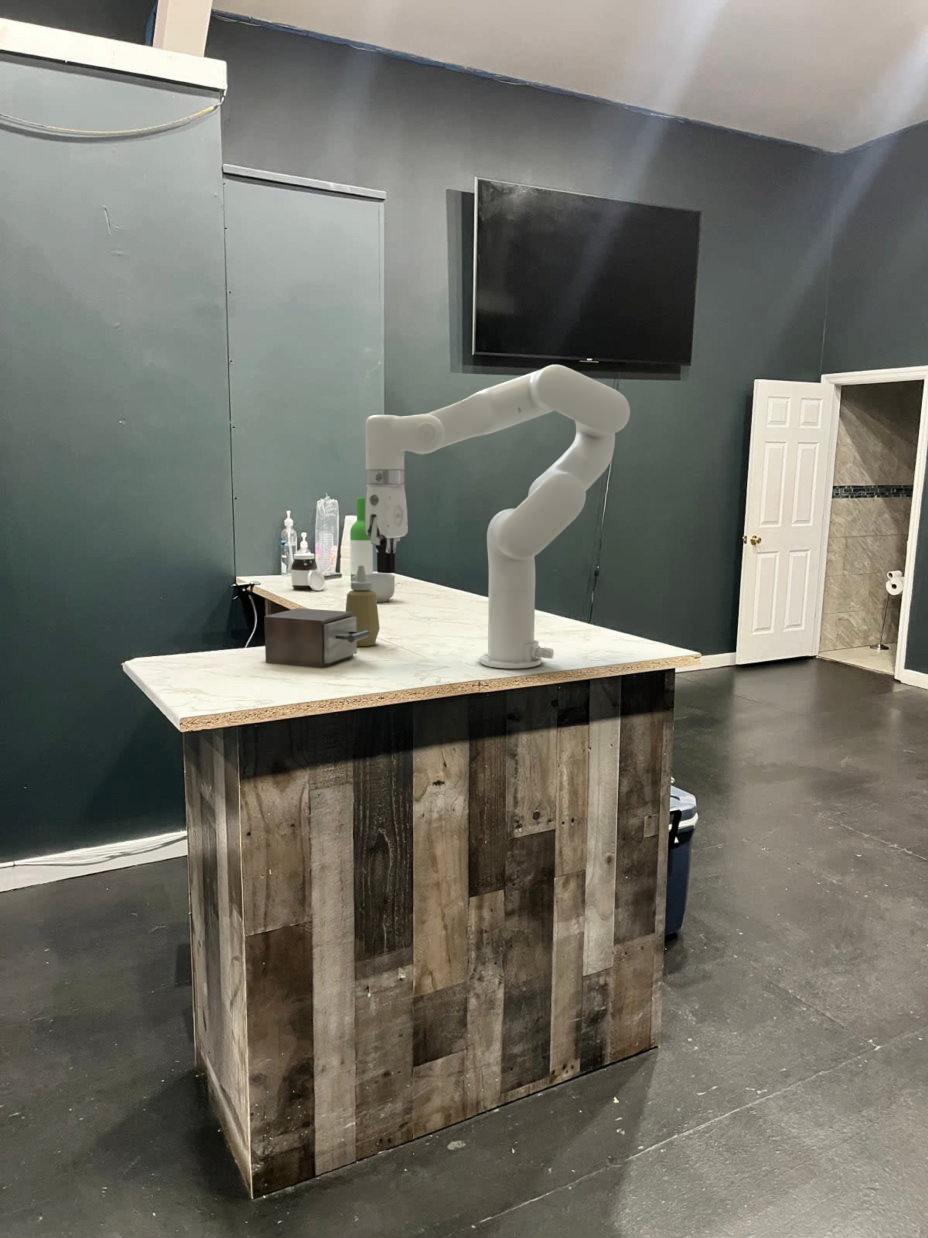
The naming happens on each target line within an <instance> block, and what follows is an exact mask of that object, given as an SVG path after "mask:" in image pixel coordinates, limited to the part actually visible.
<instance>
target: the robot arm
mask: <svg viewBox="0 0 928 1238" xmlns="http://www.w3.org/2000/svg"><path fill="white" fill-rule="evenodd" d="M553 412H556V413H558V414H561V415H562V416H565V417H567V418H569V419H570V420H573V421H574V423H575V437H574V439H573V442H572V443H571V445H570V446H569V448H568V449H567V450H565V451H564V453H563V454H562V455H561V456H560V457H559V458H558V459H557V460H556V461H554V463H552V465H551V466H549V467H548V468H547V469H546V470H545V471H544V472H543V473H542V474H540V475H539V476H538V477H537V478H536V479H535V480H534V481H533V482H532V483H531V485H530V487H529V489H528V492H527V493H528V494H527V497H526V498H525V499H524V500H523V501H522V502H521V503H519V505H517V507H516V508H506V509H503V510H501V511H499V512H498V513H496V514H495V515H494V516H493V517H492V518H491V520H490V522H489V523H488V528H487V532H486V547H487V560H488V561H487V562H488V563H487V564H488V594H487V595H488V598H487V600H488V602H487V603H488V604H487V605H488V607H487V608H488V612H487V614H488V615H487V653H485V654H483V655H481V656H480V658H479V660H480V661H479V662H480V664H482V665H484V666H485V667H486V666H487V667H491V668H497V669H509V670H510V669H529V668H534V667H535V668H536V667H538V666H540V665H541V664H542V658H543V659H551V660H552V659H553V658H554V655H555V654H554V653H555V652H554V651H555V650H554V649H553V648H551V647H541V646H540V645H539V640H535V617H536V615H535V614H536V613H535V611H536V610H535V609H536V559H535V557H536V556H537V555H538V554H540V553H541V552H542V551H543V550H545V548H547V547H548V546H549V545H550V544H551V543H552V542H553V541H554V540H555V539H556V538H557V537H558V536H559V535H560V534H561V533H563V532H564V530H565V529H566V528H567V527H568V526H570V525H571V524H572V522H573V521H575V519H577V518H578V516H579V515H580V514H581V512H582V510H583V508H584V506H585V504H586V498H587V493H586V492H587V491H588V490H589V489H590V488H591V486H592V485H593V484H594V483H595V482H596V481H597V480H598V479H599V478H600V477H601V476H602V475H603V474H604V472H605V471H606V470H607V468H608V467H609V465H610V463H611V461H612V460H613V456H614V451H615V445H616V434H617V433H619V432H620V431H622V430H623V429H624V428H625V427H626V426H627V423H628V422H629V420H630V417H631V407H630V404H629V401H628V399H627V398H626V397H625V395H624V394H622V393H621V392H620V391H619V390H617V389H615V388H612V387H610V386H608V385H606V384H604V383H602V382H600V381H597V380H596V379H594V378H591V377H589V376H587V375H585V374H583V373H581V372H579V371H576V370H574V369H573V368H569V367H567V366H565V365H561V364H550V365H547V366H544V367H543V368H541V369H538V370H535V371H531V372H530V373H527V374H525V375H521V376H518V377H516V378H512V379H510V380H507V381H505V382H501V383H499V384H495V385H493V386H489V387H486V388H484V389H481V390H479V391H477V392H475V393H473V394H471V395H470V396H468V397H466V398H464V399H462V400H459V401H457V402H455V403H453V404H450V405H447V406H445V407H441V408H439V409H436V410H433V411H430V412H428V413H421V414H419V413H418V414H413V415H403V416H401V415H400V416H399V415H393V414H375V415H369V416H368V417H367V418H366V420H365V487H367V490H366V497H365V525H366V534H367V535H368V536H369V537H371V540H370V542H371V544H373V546H374V548H375V553H376V573H387V574H394V573H395V572H396V551H397V543H399V542H401V537H405V536H407V534H408V532H409V522H408V521H409V520H408V505H407V496H406V490H405V452H412V453H413V454H417V455H426V454H432V453H434V452H436V451H437V450H439V449H442V448H445V447H448V446H450V445H451V446H452V445H453V444H456V443H459V442H462V441H465V440H469V439H471V438H476V437H480V436H485V435H490V434H493V433H496V432H500V431H503V430H505V429H507V428H511V427H513V426H516V425H519V424H522V423H524V422H527V421H530V420H533V419H535V418H538V417H542V416H544V415H547V414H550V413H553Z"/></svg>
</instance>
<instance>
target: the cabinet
mask: <svg viewBox="0 0 928 1238" xmlns="http://www.w3.org/2000/svg"><path fill="white" fill-rule="evenodd" d="M352 615H353V612H346V610H330V609H315V608H301V607H296V608H293V609H289V610H284V611H280V612H276V613H272V614H268V615H264V617H263V619H264V620H263V621H264V622H263V623H264V650H265V651H264V652H265V653H264V654H265V663H270V664H281V665H289V666H290V665H291V666H301V667H302V666H303V667H310V668H311V667H313V668H325V667H328V666H331V665H334V664H337V663H339V662H342V661H344V660H347V659H349V658H352V657H354V654H353V655H350V656H347V657H345V658H342V659H339V660H336V661H334V662H331V663H324V624H325V623H328V622H332V621H335V620H339V619H342V618H344V619H345V618H348V617H353V616H352Z"/></svg>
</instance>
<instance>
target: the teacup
mask: <svg viewBox="0 0 928 1238" xmlns="http://www.w3.org/2000/svg"><path fill="white" fill-rule="evenodd" d="M356 576H357V575H355V576H353V578H352V582H353V581H355V579H356ZM366 578H367V581H370V582H372V589H370V590H371V591H374V592H375V593H376V600H377V603H383V602H388V601H389V600H390V599H392V597H393V596H394V594H395V589H396V588H395V586H396V585H395V584H396V583H395V582H396V581H395V578H396V575H394V573H378V572H373V573H370V574H366Z"/></svg>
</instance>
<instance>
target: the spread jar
mask: <svg viewBox="0 0 928 1238" xmlns="http://www.w3.org/2000/svg"><path fill="white" fill-rule="evenodd" d="M290 569H291V571H290V573H291V575H290V576H291V586H292V587H291V588H292V589H294V590H295V591H315V592H319V591H322V590H323V589H324V588H325V586H326V580H325V579H326V578H325V576H324V574H323V573H322V572H321V571H320V570H318V565H317V562H316V560H315V553H294V554H293V561H292V564H291V567H290Z"/></svg>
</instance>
